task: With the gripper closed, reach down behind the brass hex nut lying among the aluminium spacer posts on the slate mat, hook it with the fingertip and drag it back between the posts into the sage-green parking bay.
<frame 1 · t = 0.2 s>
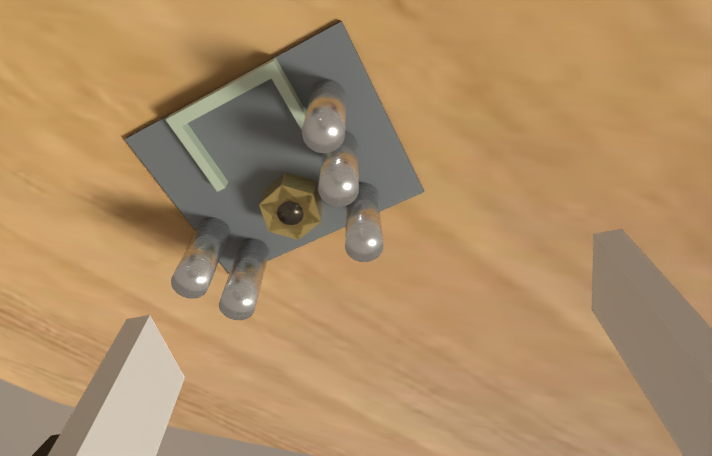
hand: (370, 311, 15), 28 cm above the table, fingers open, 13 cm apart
bay: (250, 129, 41), resting on mat
nut: (293, 199, 44), resting on mat
mat: (279, 164, 43), on the table
spacer posts: (276, 169, 43), resting on mat
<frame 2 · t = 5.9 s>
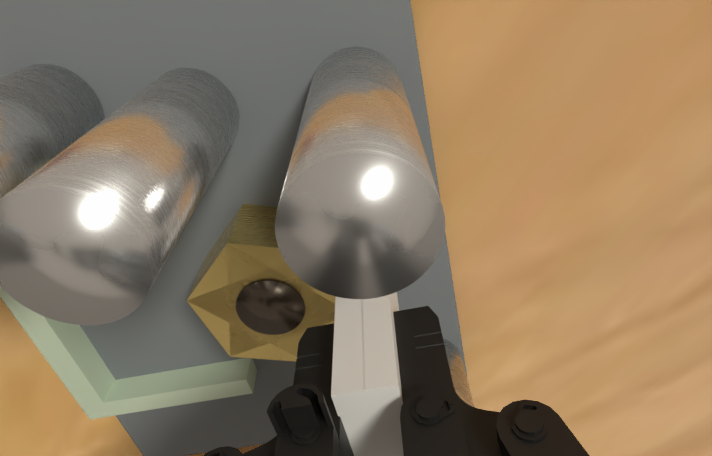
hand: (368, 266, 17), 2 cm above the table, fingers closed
bay: (144, 285, 19), resting on mat
nut: (280, 263, 18), resting on mat, touching gripper
mat: (233, 256, 19), on the table
spacer posts: (244, 266, 19), resting on mat
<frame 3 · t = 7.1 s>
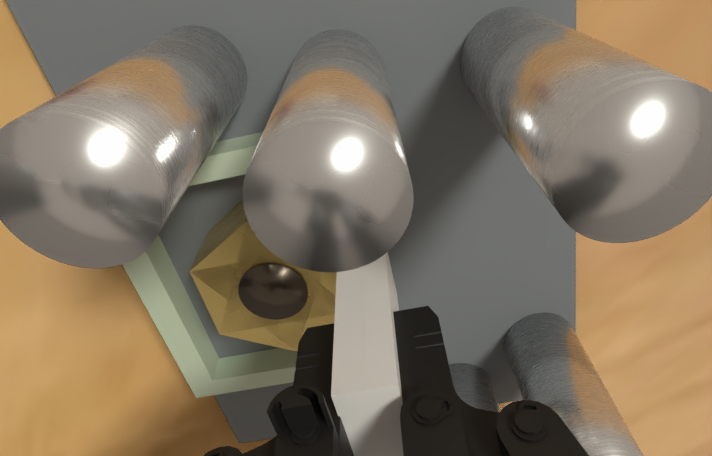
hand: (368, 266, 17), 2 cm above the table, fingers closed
bay: (259, 259, 19), resting on mat
nut: (282, 248, 18), resting on mat, touching gripper
mat: (353, 229, 18), on the table
spacer posts: (363, 239, 19), resting on mat
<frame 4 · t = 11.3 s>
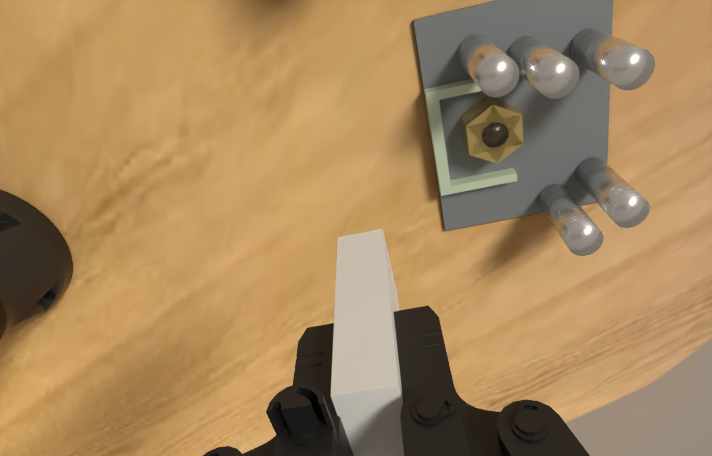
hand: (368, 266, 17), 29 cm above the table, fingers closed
bay: (475, 131, 45), resting on mat
nut: (488, 125, 45), resting on mat
mat: (517, 117, 45), on the table
spacer posts: (520, 122, 45), resting on mat
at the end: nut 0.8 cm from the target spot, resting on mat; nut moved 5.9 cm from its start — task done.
